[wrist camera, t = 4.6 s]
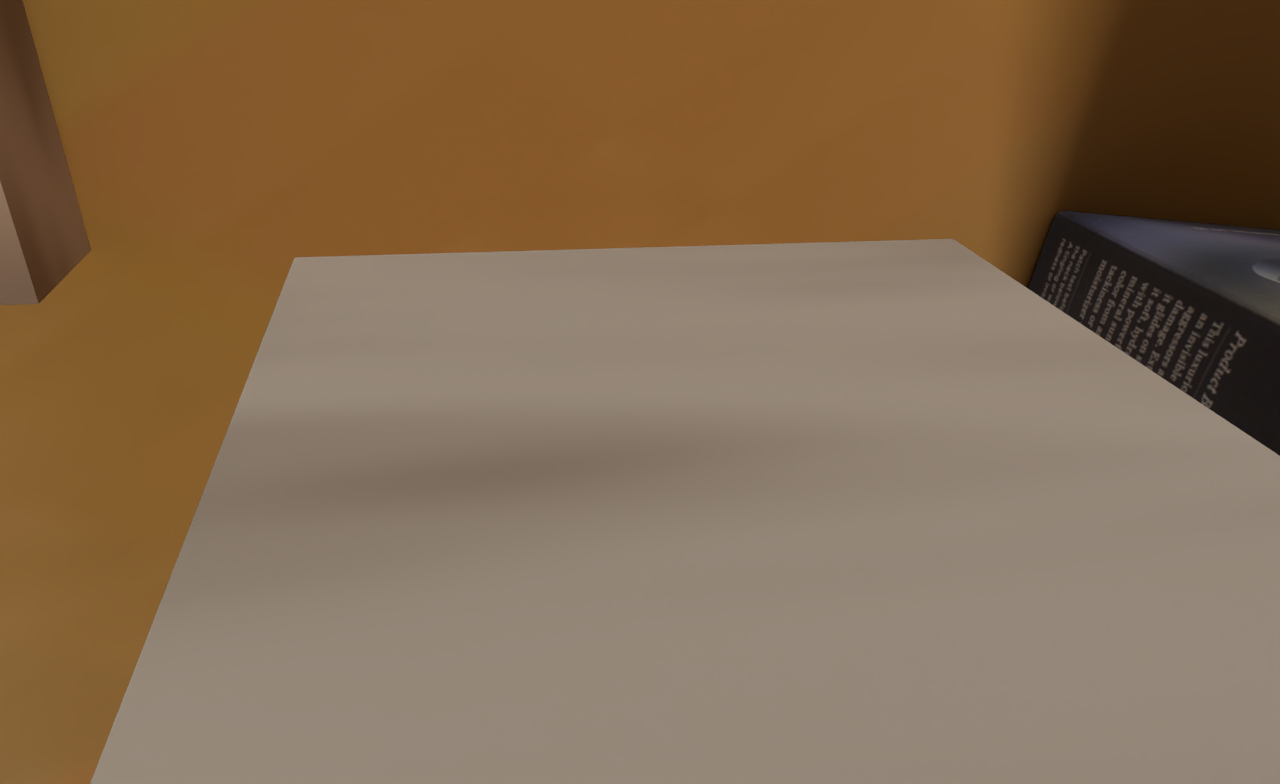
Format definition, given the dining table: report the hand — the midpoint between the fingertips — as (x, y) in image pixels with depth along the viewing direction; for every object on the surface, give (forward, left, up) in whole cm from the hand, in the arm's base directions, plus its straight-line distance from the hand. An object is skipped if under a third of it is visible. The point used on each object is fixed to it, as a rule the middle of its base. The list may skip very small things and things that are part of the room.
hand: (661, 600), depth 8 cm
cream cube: (0, 0, -1) cm, 1 cm away
